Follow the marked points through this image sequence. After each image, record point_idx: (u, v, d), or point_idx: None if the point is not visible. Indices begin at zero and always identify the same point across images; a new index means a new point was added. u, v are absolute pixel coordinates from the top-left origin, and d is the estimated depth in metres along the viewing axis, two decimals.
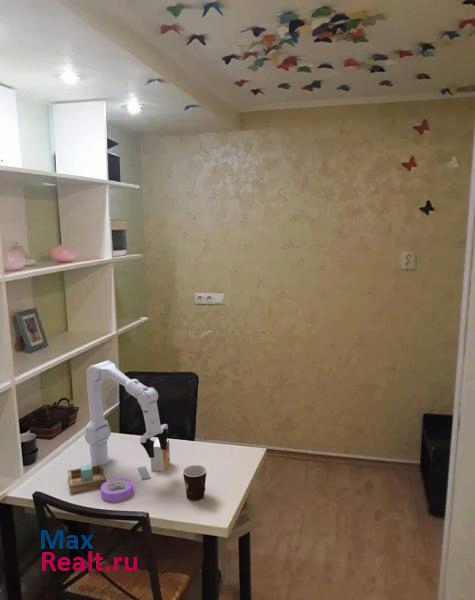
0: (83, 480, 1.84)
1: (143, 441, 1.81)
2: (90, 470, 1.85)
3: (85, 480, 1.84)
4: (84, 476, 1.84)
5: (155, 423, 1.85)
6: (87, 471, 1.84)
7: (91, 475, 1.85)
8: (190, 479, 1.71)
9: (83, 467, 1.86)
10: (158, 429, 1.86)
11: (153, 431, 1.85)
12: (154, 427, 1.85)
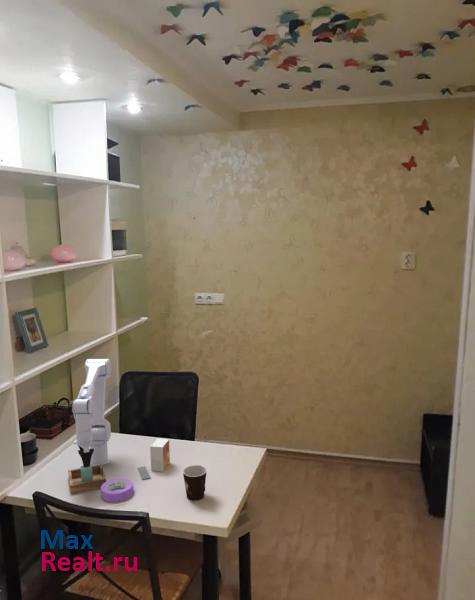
0: (83, 480, 1.84)
1: None
2: (90, 470, 1.85)
3: (85, 480, 1.84)
4: (84, 476, 1.84)
5: None
6: (87, 471, 1.84)
7: (91, 475, 1.85)
8: (190, 479, 1.71)
9: (83, 467, 1.86)
10: None
11: None
12: None
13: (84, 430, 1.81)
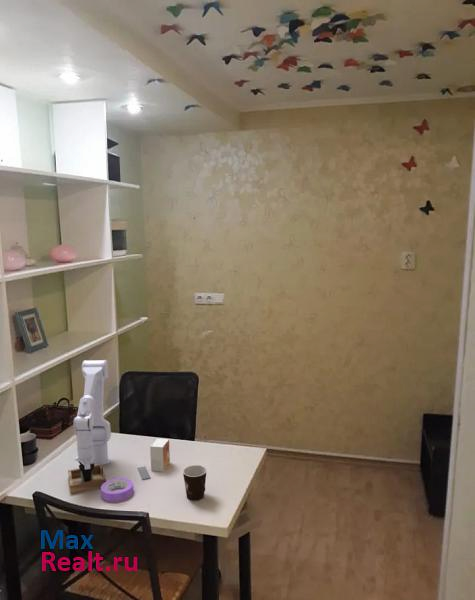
0: (83, 480, 1.84)
1: None
2: None
3: None
4: None
5: None
6: None
7: (91, 475, 1.85)
8: (190, 479, 1.71)
9: None
10: None
11: None
12: None
13: (85, 447, 1.82)
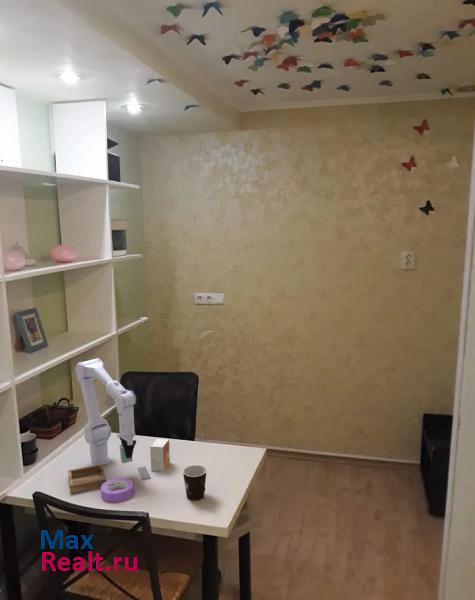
0: (123, 458, 1.88)
1: None
2: None
3: (125, 458, 1.88)
4: (124, 454, 1.88)
5: None
6: None
7: None
8: (190, 479, 1.71)
9: (122, 446, 1.89)
10: None
11: None
12: None
13: (132, 422, 1.87)
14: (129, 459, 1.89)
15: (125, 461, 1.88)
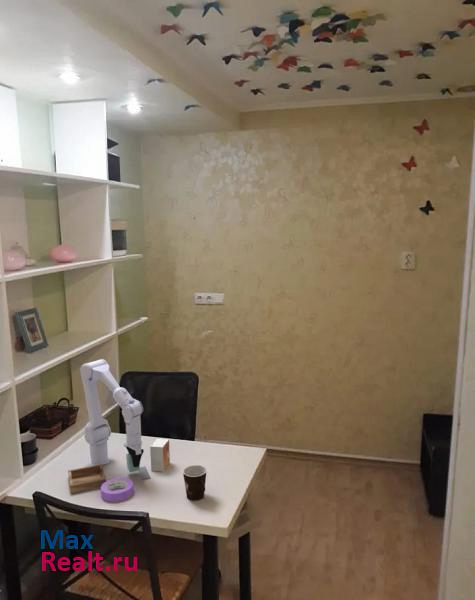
0: (130, 467, 1.89)
1: None
2: None
3: (132, 467, 1.89)
4: (131, 463, 1.89)
5: None
6: None
7: None
8: (190, 479, 1.71)
9: (129, 455, 1.91)
10: None
11: None
12: None
13: (140, 431, 1.89)
14: (136, 468, 1.90)
15: (132, 470, 1.89)
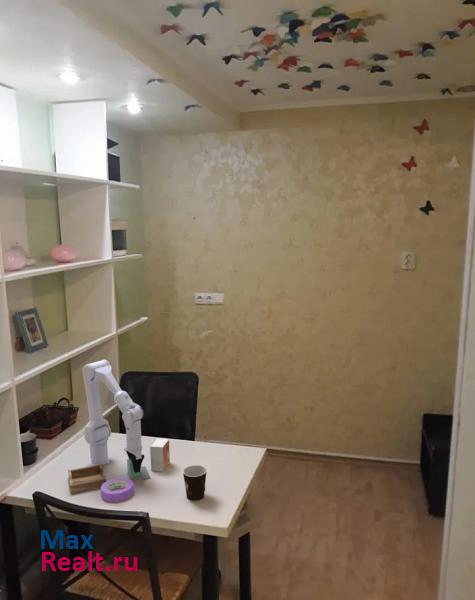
0: (131, 473, 1.89)
1: None
2: None
3: (133, 473, 1.90)
4: (132, 469, 1.89)
5: None
6: None
7: None
8: (190, 479, 1.71)
9: (130, 460, 1.91)
10: None
11: None
12: None
13: (140, 435, 1.89)
14: (137, 474, 1.91)
15: (133, 476, 1.90)
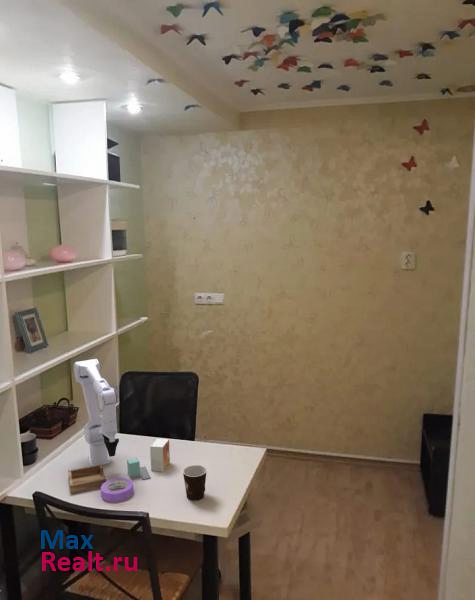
0: (131, 473, 1.89)
1: None
2: (137, 463, 1.90)
3: (133, 473, 1.90)
4: (132, 469, 1.89)
5: None
6: (135, 464, 1.90)
7: (138, 468, 1.90)
8: (190, 479, 1.71)
9: (130, 460, 1.91)
10: (102, 429, 1.89)
11: None
12: None
13: (113, 419, 1.88)
14: (137, 474, 1.91)
15: (133, 476, 1.90)
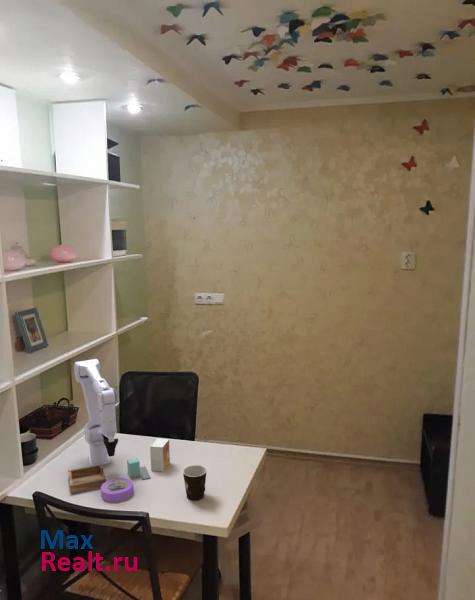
0: (131, 473, 1.89)
1: None
2: (137, 463, 1.90)
3: (133, 473, 1.90)
4: (132, 469, 1.89)
5: None
6: (135, 464, 1.90)
7: (138, 468, 1.90)
8: (190, 479, 1.71)
9: (130, 460, 1.91)
10: (101, 429, 1.89)
11: None
12: None
13: (113, 419, 1.88)
14: (137, 474, 1.91)
15: (133, 476, 1.90)
